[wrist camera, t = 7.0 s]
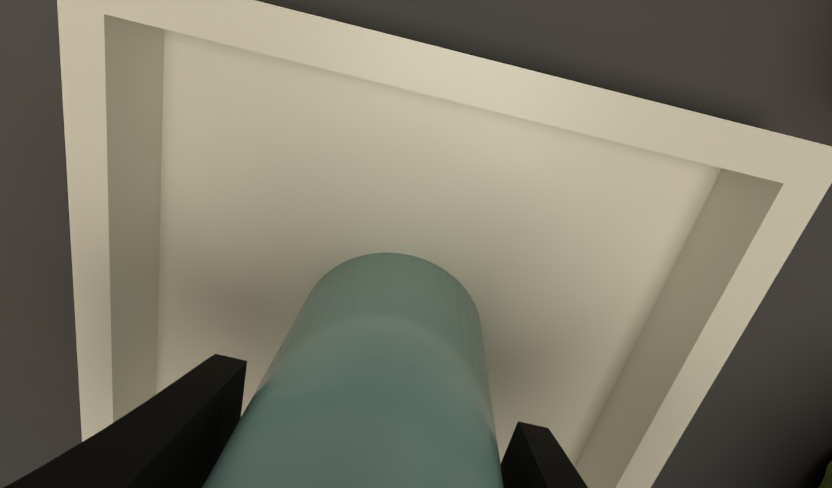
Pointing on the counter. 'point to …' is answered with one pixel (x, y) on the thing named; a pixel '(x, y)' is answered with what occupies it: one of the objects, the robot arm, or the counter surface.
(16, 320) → the counter surface
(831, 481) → the plant pot
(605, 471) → the cream tray
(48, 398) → the counter surface
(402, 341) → the pale teal cylinder
